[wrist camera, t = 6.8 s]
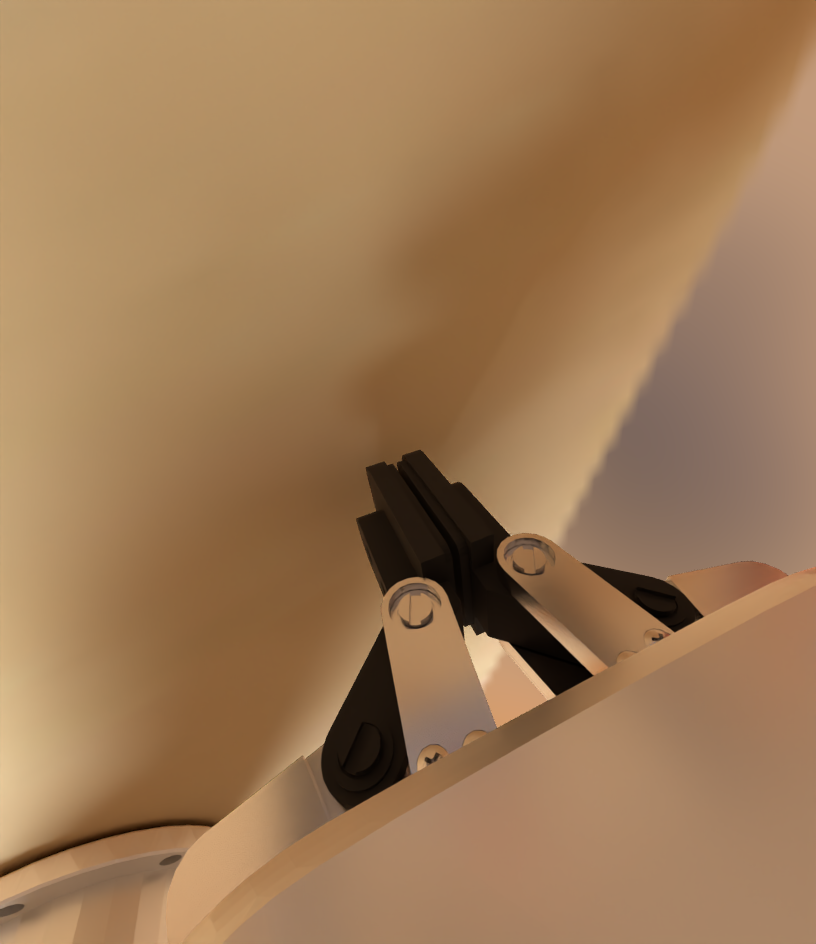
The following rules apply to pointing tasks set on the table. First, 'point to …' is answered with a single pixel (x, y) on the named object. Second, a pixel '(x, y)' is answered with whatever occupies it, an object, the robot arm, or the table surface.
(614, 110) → the table surface
